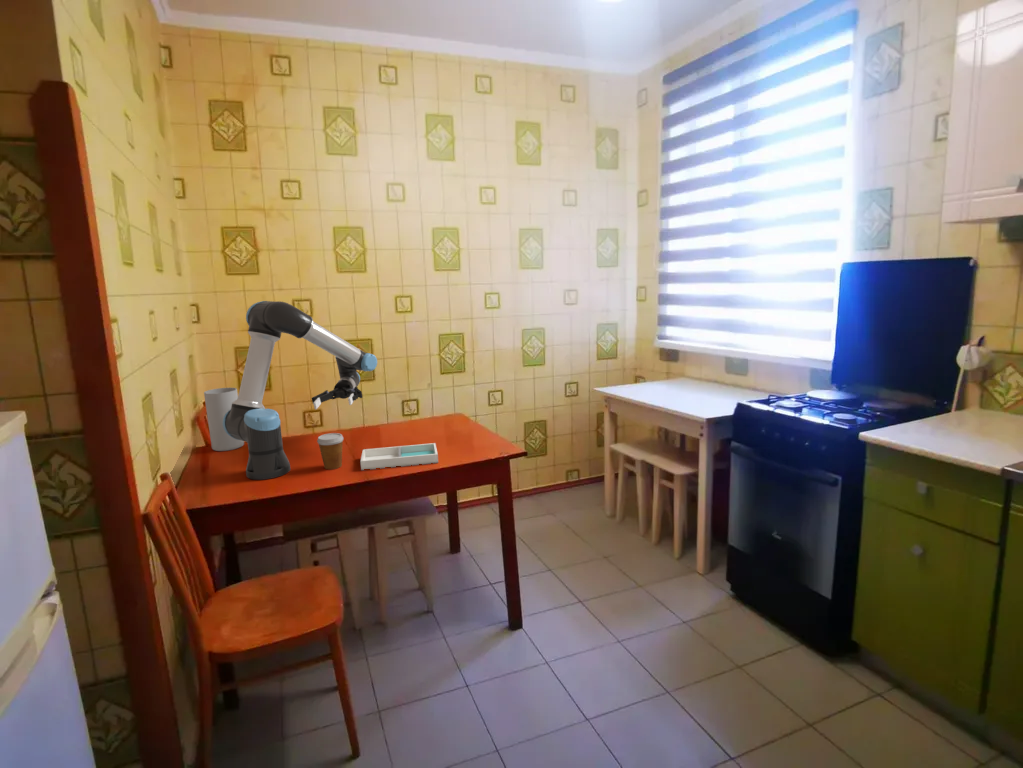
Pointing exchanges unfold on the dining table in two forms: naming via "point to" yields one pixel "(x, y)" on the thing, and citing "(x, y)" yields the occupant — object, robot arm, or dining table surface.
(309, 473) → the dining table surface
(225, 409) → the cylinder vase
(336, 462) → the disposable coffee cup
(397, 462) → the divided tray
